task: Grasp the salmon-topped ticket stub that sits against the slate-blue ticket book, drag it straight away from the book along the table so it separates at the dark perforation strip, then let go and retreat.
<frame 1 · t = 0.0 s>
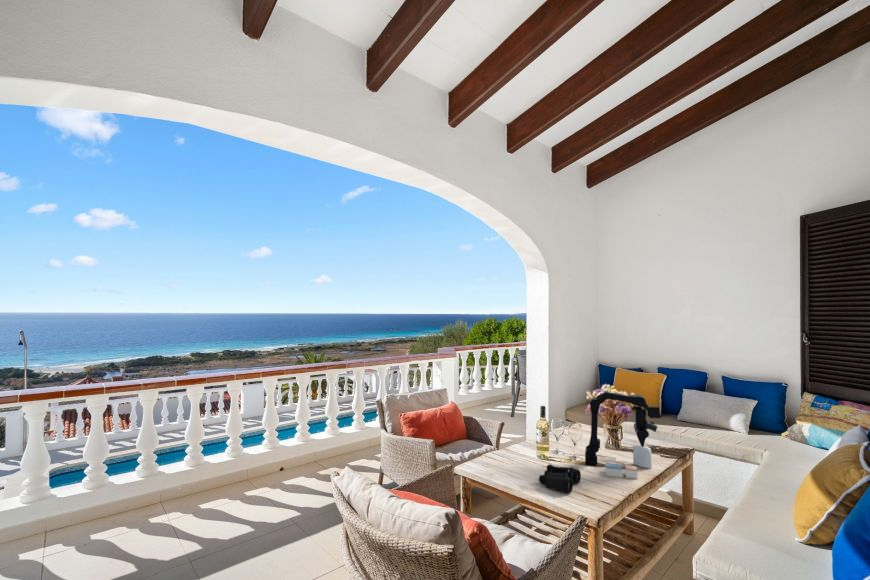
hand: (641, 444, 240), 15 cm above the table, fingers open, 9 cm apart
stub: (631, 471, 230), point 3 cm above the table, slide at 0.0 cm
photo printer: (642, 466, 244), on the table
ticket book: (614, 474, 233), on the table
binoculars: (559, 484, 220), on the table
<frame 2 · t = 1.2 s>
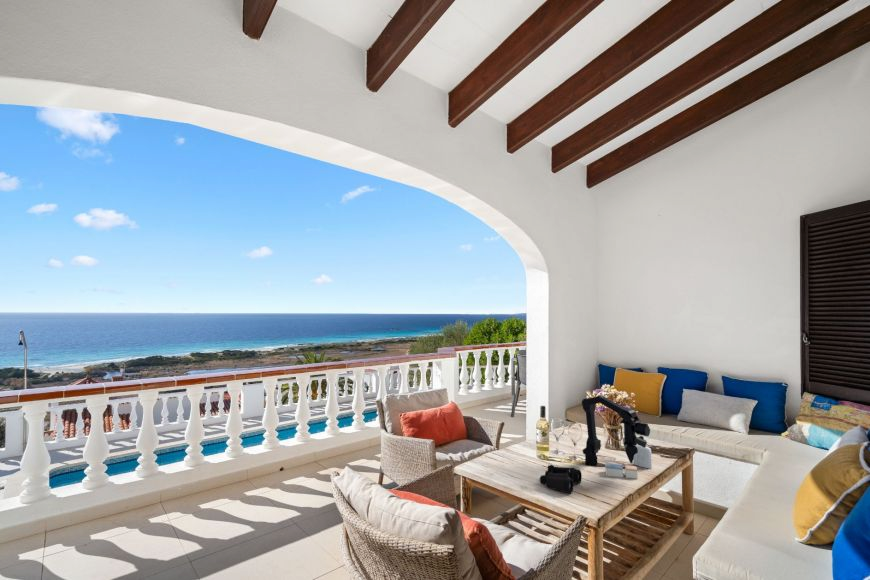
hand: (630, 460, 230), 9 cm above the table, fingers open, 9 cm apart
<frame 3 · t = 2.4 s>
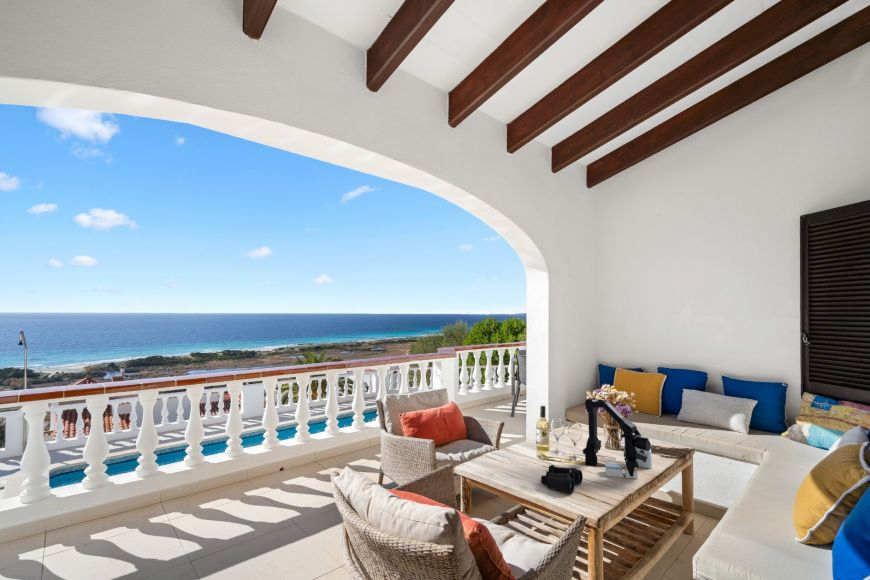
hand: (631, 474, 230), 1 cm above the table, fingers closed on stub, 5 cm apart
stub: (631, 471, 230), point 3 cm above the table, slide at 0.0 cm, touching gripper
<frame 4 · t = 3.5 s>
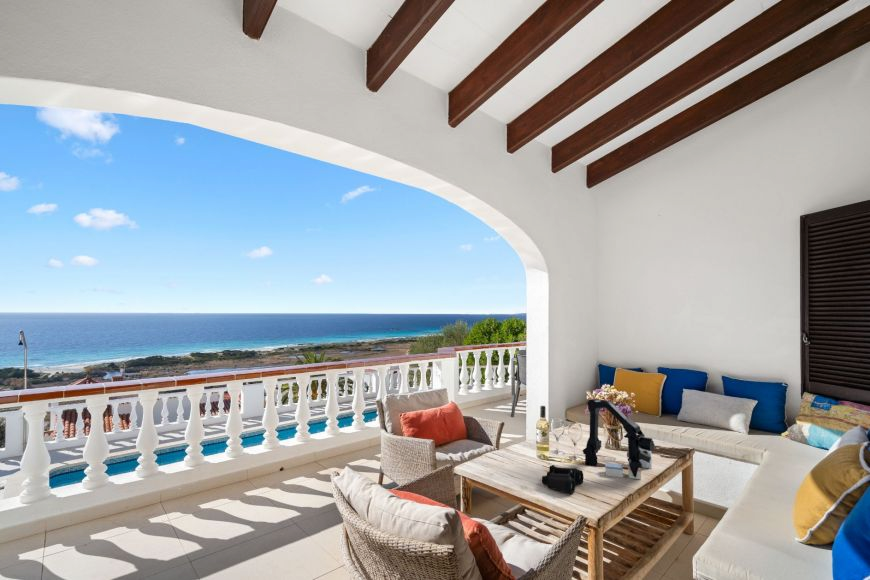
hand: (634, 475, 229), 1 cm above the table, fingers closed on stub, 5 cm apart
stub: (634, 472, 229), point 3 cm above the table, slide at 1.7 cm, touching gripper
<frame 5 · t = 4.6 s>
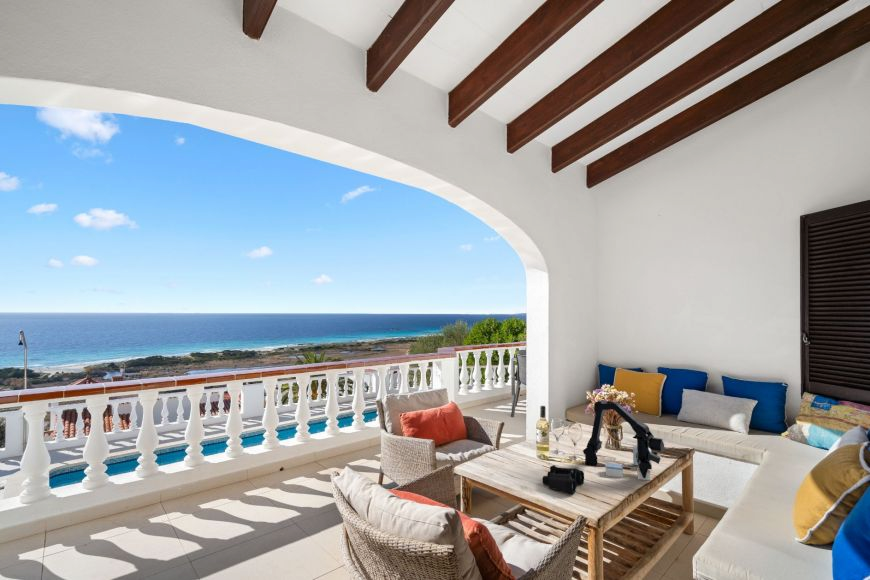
hand: (643, 476, 227), 1 cm above the table, fingers closed on stub, 5 cm apart
stub: (643, 473, 227), point 3 cm above the table, slide at 6.4 cm, touching gripper
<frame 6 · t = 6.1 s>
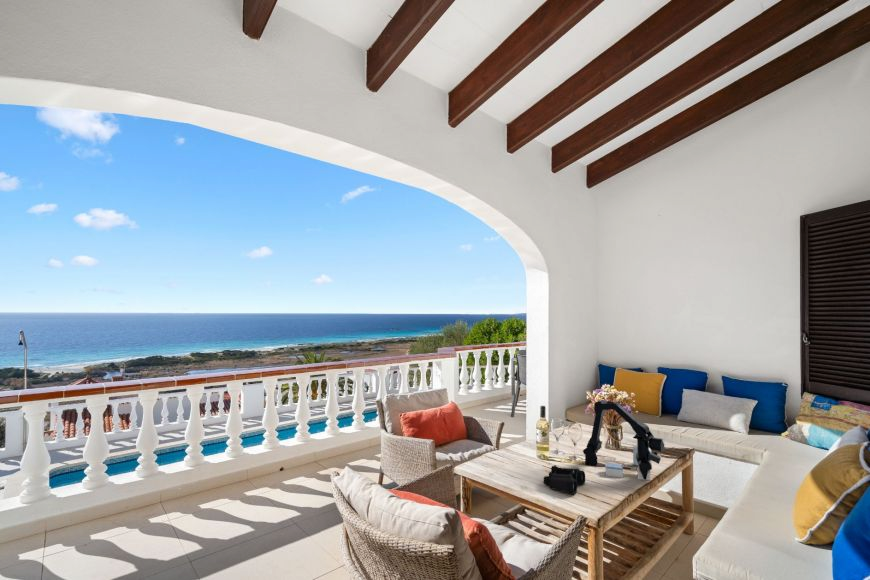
hand: (644, 476, 227), 1 cm above the table, fingers open, 9 cm apart
stub: (643, 473, 227), point 3 cm above the table, slide at 6.4 cm
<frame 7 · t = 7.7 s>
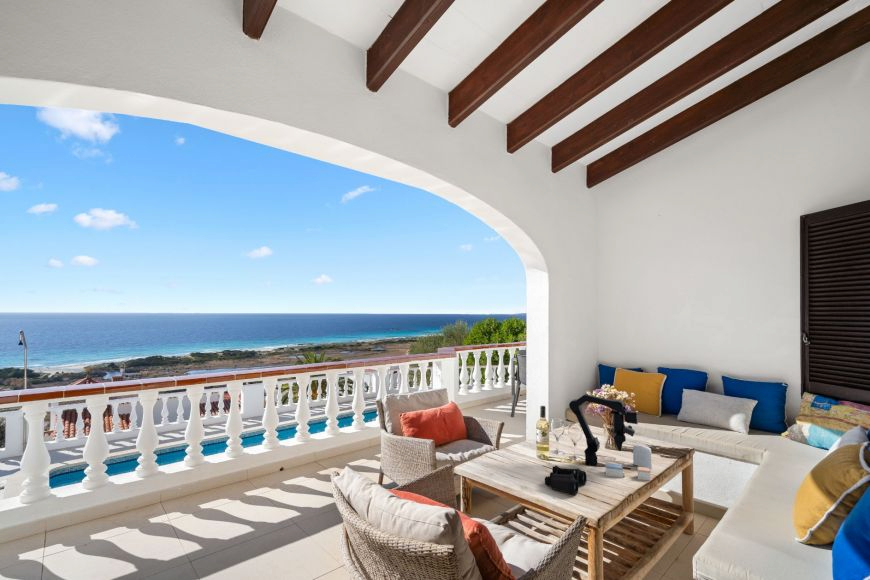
hand: (619, 448, 241), 12 cm above the table, fingers open, 9 cm apart
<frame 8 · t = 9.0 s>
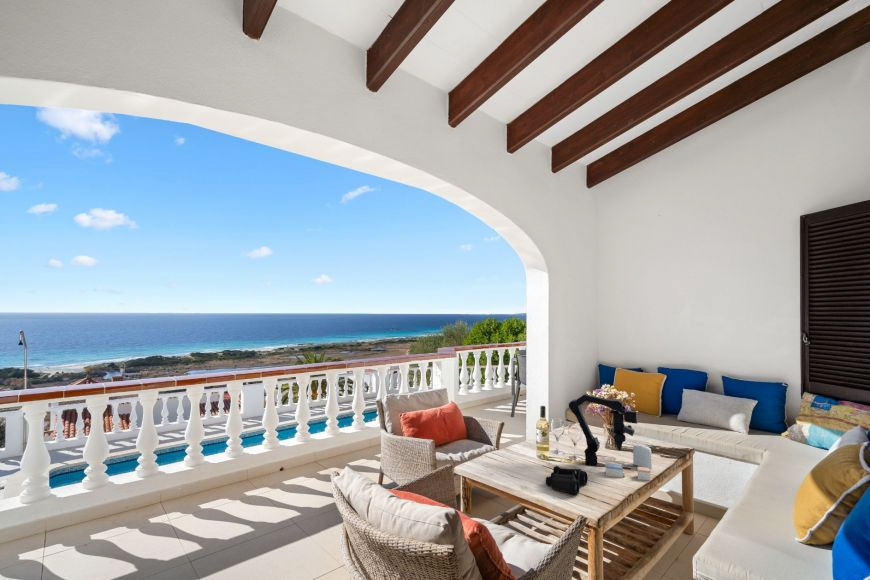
hand: (619, 448, 241), 12 cm above the table, fingers open, 9 cm apart
at the end: stub slide at 6.4 cm; stub touching nothing; the gripper is holding nothing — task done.
